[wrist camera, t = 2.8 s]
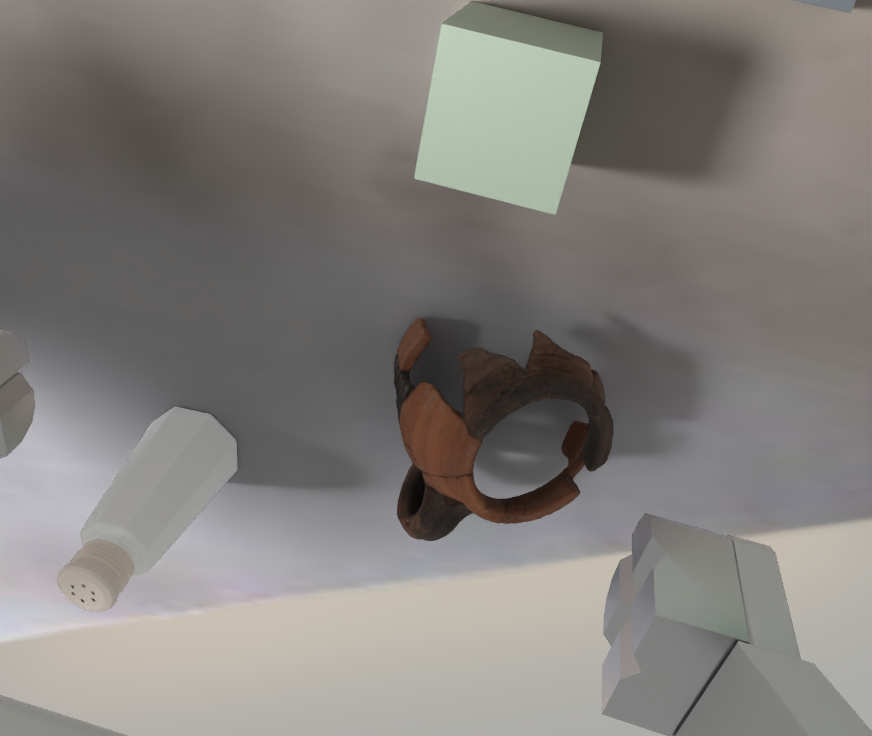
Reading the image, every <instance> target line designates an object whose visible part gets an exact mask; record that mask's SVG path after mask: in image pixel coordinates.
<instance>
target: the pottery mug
mask: <svg viewBox="0 0 872 736" xmlns="http://www.w3.org/2000/svg"><path fill="white" fill-rule="evenodd" d="M533 337H534V342H533V348H532V350H531V353H530V357H529V360H528V363H527V366H526V368H525V370H523V369H522V368H521V367H520V366H519V365H518V364H517V363H516V362H515V361H514V360H513V359H510V358H508V357H506V356H503V355H499V354H492V353H489V352H488V351H486V350H484V349H482V348H473V349H470V350H467V351H464V352H462V353H461V354H460V355H459V356H458V357H457V360H458V362H459V364H460V366H461V369H462V371H463V372H464V378H463V392H464V403H463V414H461V413H459V412H458V411H456V410H455V409H454V408H452V407H451V406H450V405H449V404H448V403H447V401H446V400H445V399H444V397H443V396H442V394H441V392H440V391H439V390H438V388H437V387H436V386H434V385H432V384H429V383H427V382H421V383H420V384H419V385H418V386H417V387H416V388H415V386H414V385H413V384H412V382H411V381H410V370H411V369H412V367H413V365H414V364H415V362H416V360H417V359H418V357H419V356H420V354H421V353H422V352H423V350H424V349H425V348H426V346H427V345H428V344H429V343H430V341H431V335H430V333H429V332H428V330H427V329H426V322H425V320H424V319H423V318H419V319H417V320H416V321H415V322H414V323H413V324H412V325H411V326H410V327H409V329H408V330H407V332H406V333H405V335H404V337H403V338H402V341H401V343H400V345H399V348H398V351H397V354H396V357H395V363H394V375H395V377H394V384H395V388H396V395H397V399H396V405H397V409H398V419H399V425H400V430H401V433H402V438H403V442H404V445H405V448H406V450H407V452H408V454H409V457H410V459H411V461H412V466H411V467H410V469H409V471H408V473H407V475H406V478H405V480H404V482H403V485H402V488H401V492H400V495H399V499H398V507H397V516H398V519H399V521H400V523H401V524H402V526H403V528H404V530H405V531H406V532H407V533H408V534H409V535H410V536H411V537H413V538H415V539H423V540H427V541H434V540H438V539H440V538H442V537H444V536H446V535H448V534H449V533H450V532H451V531H453V530H454V528H455V527H456V526H457V525H458V523H459V522H460V521H461V520H462V519H463V518H465V517H466V516H468V515H469V514H472V513H474V514H476V515H478V516H479V517H481V518H483V519H485V520H488V521H491V522H496V523H505V524H509V523H521V522H528V521H532V520H535V519H540V518H542V517H543V516H546V515H549V514H551V513H553V512H555V511H557V510H559V509H561V508H562V507H564V506H565V505H567V504H569V503H570V502H571V501H573V500H574V499H575V498H576V497H577V496H578V495H579V494H580V490H579V488H578V486H577V484H576V483H575V482H574V481H573V478H574V477H575V475H576V474H577V473H578V472H579V471H580V470H581V469H582V468H583V466H584V465H585V466H586V468H587V469H588V470H589V471H595V470H596V469H597V468H599V467H600V466H602V465H603V464H605V462H606V461H607V459H608V455H609V453H610V449H611V446H612V437H613V420H612V418H611V414H610V412H609V410H608V408H607V407H606V406H605V395H604V388H603V385H602V383H601V380H600V377H599V375H598V373H597V372H596V371H595V370H591V367H590V365H589V363H588V362H587V361H586V360H584V359H582V358H581V357H578V356H575V355H573V354H571V353H568V352H567V351H565V350H564V349H562V348H561V347H559V346H558V345H557V344H555V343H554V342H553V341H552V340H551V339H550V338H549V337H548V336H546V335H545V334H543V333H542V332H540V331H539V330H535V331H534V332H533ZM548 398H550V399H553V398H559V399H565V400H570V401H574V402H576V403H578V404H580V405H581V406H582V407H584V409H585V410H586V412H587V414H588V417H589V424H588V423H583V422H579V421H574V422H573V423H572V424H571V426H570V428H569V430H568V432H567V433H566V436H565V439H564V441H563V444H562V452H563V454H564V455H565V456H566V457H568V462H569V463H568V467H566V468H565V469H564V470H563V471H562V472H561V473H560V474H559V475H558V476H557V477H555V478H554V479H552V480H551V481H550V482H548V483H547V484H545V485H543V486H542V487H539V488H537V489H536V490H534V491H531V492H529V493H526V494H523V495H520V496H516V497H512V498H507V499H494V498H491V497H488V496H486V495H484V494H482V493H481V492H480V491H479V490H478V489H477V487H476V485H475V483H474V477H473V467H474V461H475V458H476V455H477V452H478V450H479V448H480V446H481V443H482V441H483V438H484V437H485V436H486V435H487V434H488V433H489V432H490V431H491V429H492V428H493V427H494V426H495V425H496V424H497V423H498V422H499V421H500V420H501V419H503V418H504V417H505V416H507V415H508V414H510V413H512V412H513V411H515V410H517V409H519V408H520V407H522V406H524V405H527V404H529V403H531V402H534V401H539V400H542V399H548Z"/></svg>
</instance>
